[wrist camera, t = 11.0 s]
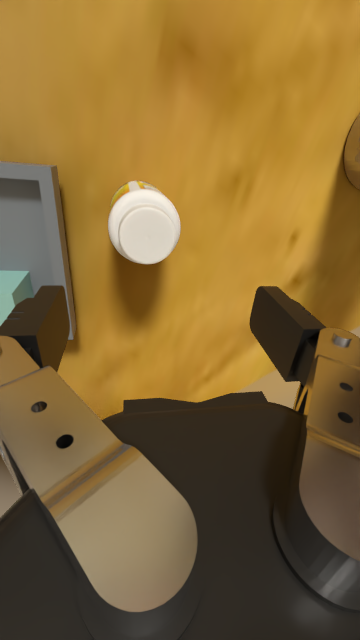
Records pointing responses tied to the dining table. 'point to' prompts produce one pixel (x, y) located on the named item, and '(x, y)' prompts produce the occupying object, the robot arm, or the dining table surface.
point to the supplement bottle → (143, 223)
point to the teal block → (13, 291)
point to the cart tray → (34, 227)
